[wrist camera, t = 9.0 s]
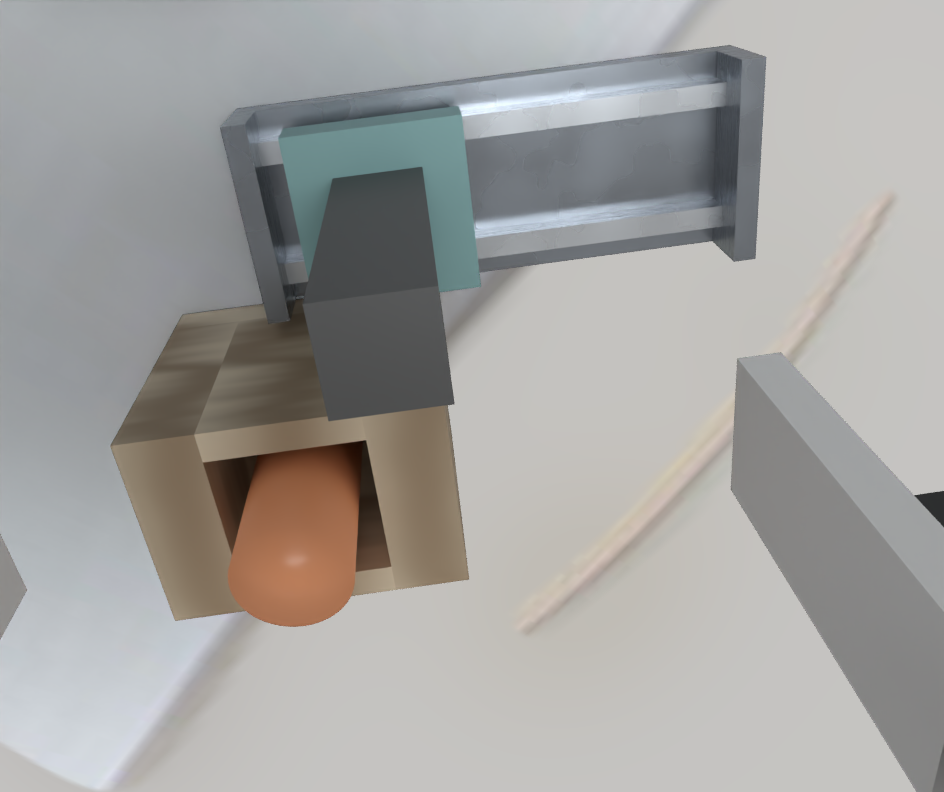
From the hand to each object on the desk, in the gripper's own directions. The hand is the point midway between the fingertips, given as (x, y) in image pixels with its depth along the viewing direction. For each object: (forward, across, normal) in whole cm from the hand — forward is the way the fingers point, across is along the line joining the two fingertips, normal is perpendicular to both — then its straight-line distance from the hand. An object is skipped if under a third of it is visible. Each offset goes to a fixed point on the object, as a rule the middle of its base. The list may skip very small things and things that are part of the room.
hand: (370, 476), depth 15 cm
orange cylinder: (+15, -4, -8) cm, 17 cm away
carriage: (+18, 0, 0) cm, 18 cm away
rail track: (+20, +4, 0) cm, 20 cm away
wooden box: (+20, -4, -8) cm, 22 cm away
